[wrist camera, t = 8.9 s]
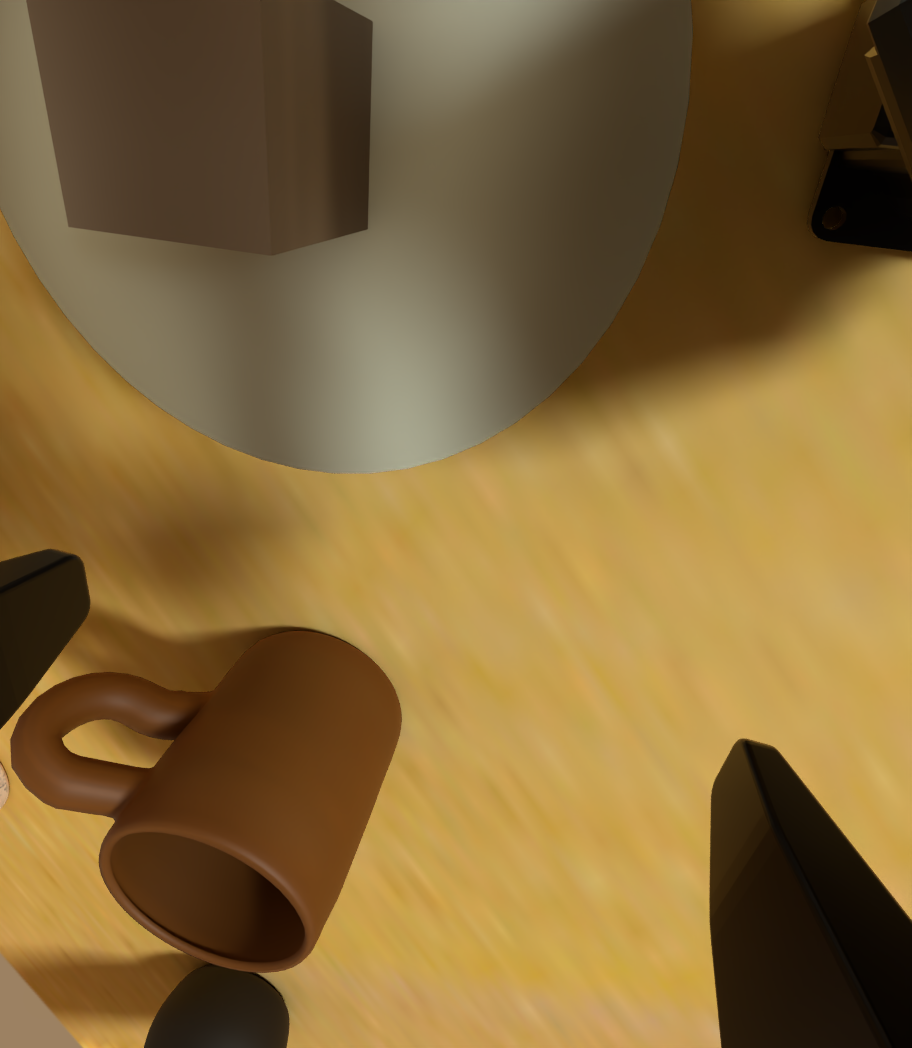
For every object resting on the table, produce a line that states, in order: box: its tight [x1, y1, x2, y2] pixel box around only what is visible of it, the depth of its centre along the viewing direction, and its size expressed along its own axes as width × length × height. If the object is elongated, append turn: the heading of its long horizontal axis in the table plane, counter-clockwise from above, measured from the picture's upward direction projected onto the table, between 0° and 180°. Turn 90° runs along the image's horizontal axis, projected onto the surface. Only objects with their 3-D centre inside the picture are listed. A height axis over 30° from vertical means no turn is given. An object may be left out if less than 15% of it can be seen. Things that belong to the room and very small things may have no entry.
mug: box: [10, 631, 402, 973], centre depth 24 cm, size 12×8×9 cm, turn 55°
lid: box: [0, 0, 693, 473], centre depth 11 cm, size 14×14×5 cm
